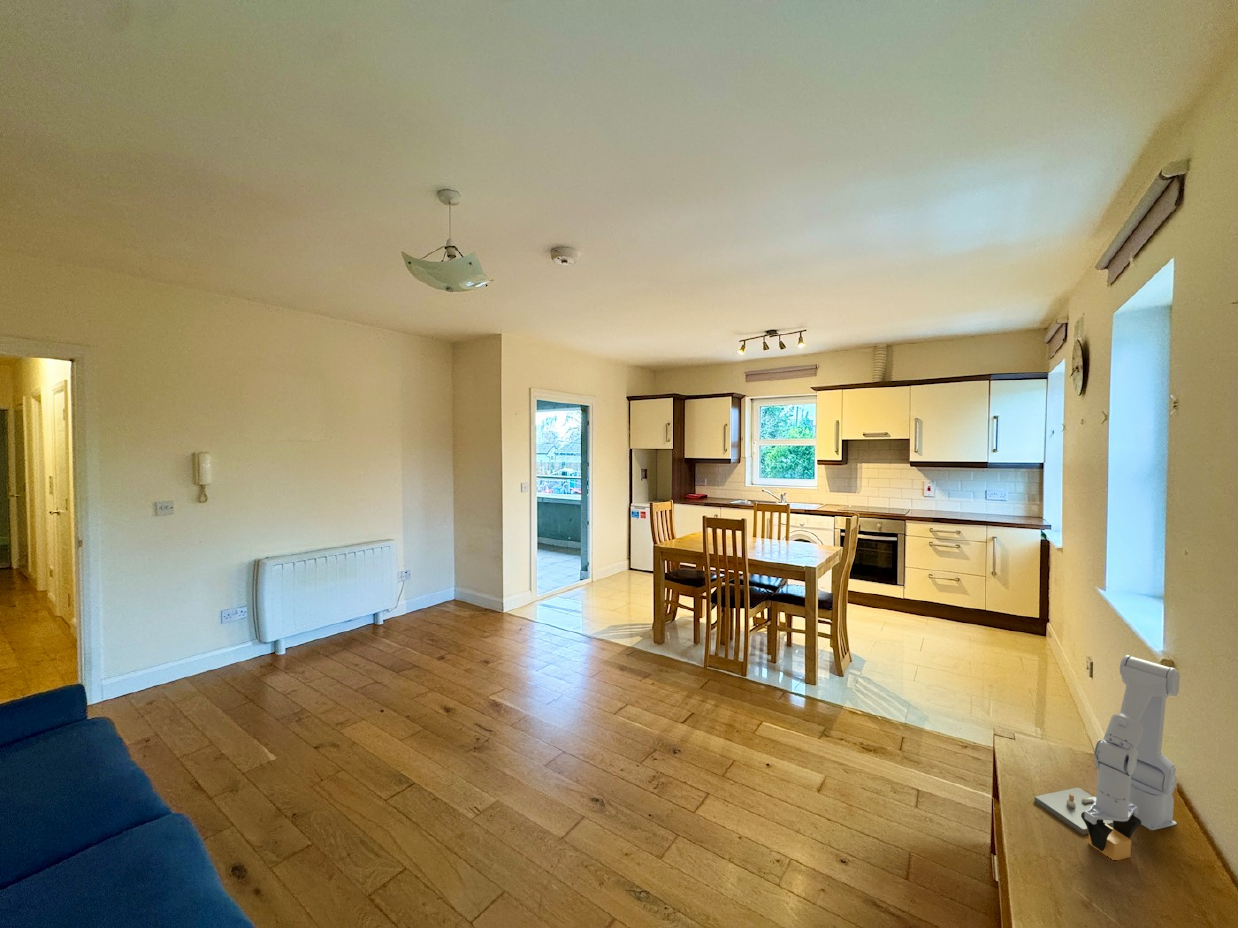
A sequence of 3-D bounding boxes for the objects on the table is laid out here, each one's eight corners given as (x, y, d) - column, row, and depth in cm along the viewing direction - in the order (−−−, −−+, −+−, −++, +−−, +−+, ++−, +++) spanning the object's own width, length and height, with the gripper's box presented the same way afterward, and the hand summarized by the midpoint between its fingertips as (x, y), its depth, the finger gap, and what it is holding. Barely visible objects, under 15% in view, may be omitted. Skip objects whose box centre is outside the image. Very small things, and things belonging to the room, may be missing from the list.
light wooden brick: (1104, 839, 127) (1105, 823, 127) (1130, 856, 122) (1131, 839, 122) (1088, 843, 126) (1089, 826, 126) (1113, 860, 121) (1114, 844, 120)
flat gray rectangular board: (1077, 792, 144) (1078, 777, 144) (1128, 823, 132) (1130, 807, 132) (1034, 801, 140) (1035, 785, 140) (1082, 834, 128) (1084, 818, 128)
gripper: (1115, 776, 128) (1111, 826, 129) (1072, 785, 125) (1068, 836, 126) (1150, 795, 122) (1146, 848, 122) (1105, 805, 118) (1101, 860, 119)
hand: (1109, 844), depth 124 cm, fingers open, 7 cm apart
